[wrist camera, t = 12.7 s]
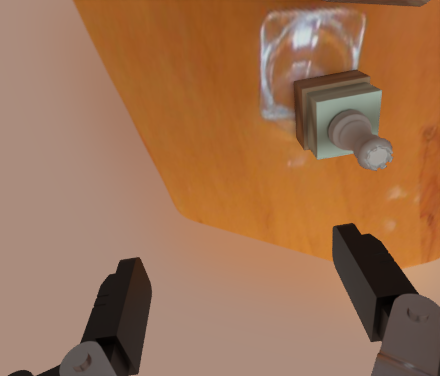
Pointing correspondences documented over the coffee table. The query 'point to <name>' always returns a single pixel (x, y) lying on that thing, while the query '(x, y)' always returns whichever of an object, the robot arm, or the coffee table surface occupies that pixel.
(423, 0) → the block
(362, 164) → the rook chess piece
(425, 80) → the coffee table surface
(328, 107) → the tower base
